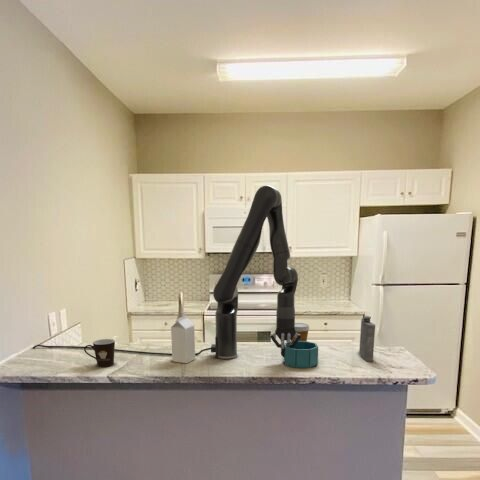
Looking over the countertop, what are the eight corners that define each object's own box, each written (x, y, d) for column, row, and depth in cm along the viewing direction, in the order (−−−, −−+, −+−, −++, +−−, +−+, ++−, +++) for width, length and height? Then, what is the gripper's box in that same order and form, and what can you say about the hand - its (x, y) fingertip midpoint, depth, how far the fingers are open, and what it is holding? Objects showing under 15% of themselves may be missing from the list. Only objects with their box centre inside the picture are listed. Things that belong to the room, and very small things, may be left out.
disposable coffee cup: (308, 347, 192) (308, 322, 190) (309, 353, 183) (310, 327, 181) (287, 347, 193) (288, 322, 191) (288, 352, 184) (288, 327, 182)
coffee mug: (120, 362, 170) (119, 339, 168) (107, 369, 162) (106, 345, 160) (97, 360, 174) (95, 337, 172) (84, 366, 166) (82, 342, 164)
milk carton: (195, 359, 175) (194, 316, 171) (186, 363, 169) (185, 319, 165) (181, 357, 178) (179, 314, 174) (172, 361, 172) (170, 317, 168)
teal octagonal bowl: (285, 368, 163) (286, 349, 162) (282, 357, 176) (282, 341, 175) (319, 367, 163) (320, 349, 161) (314, 357, 176) (314, 340, 175)
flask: (364, 361, 171) (367, 320, 167) (356, 351, 185) (359, 313, 181) (373, 361, 171) (376, 320, 167) (364, 351, 185) (367, 313, 181)
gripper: (300, 314, 169) (300, 354, 173) (268, 314, 169) (268, 354, 173) (303, 317, 162) (302, 359, 165) (269, 318, 162) (269, 359, 166)
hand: (285, 356), depth 169 cm, fingers closed on teal octagonal bowl, 1 cm apart
